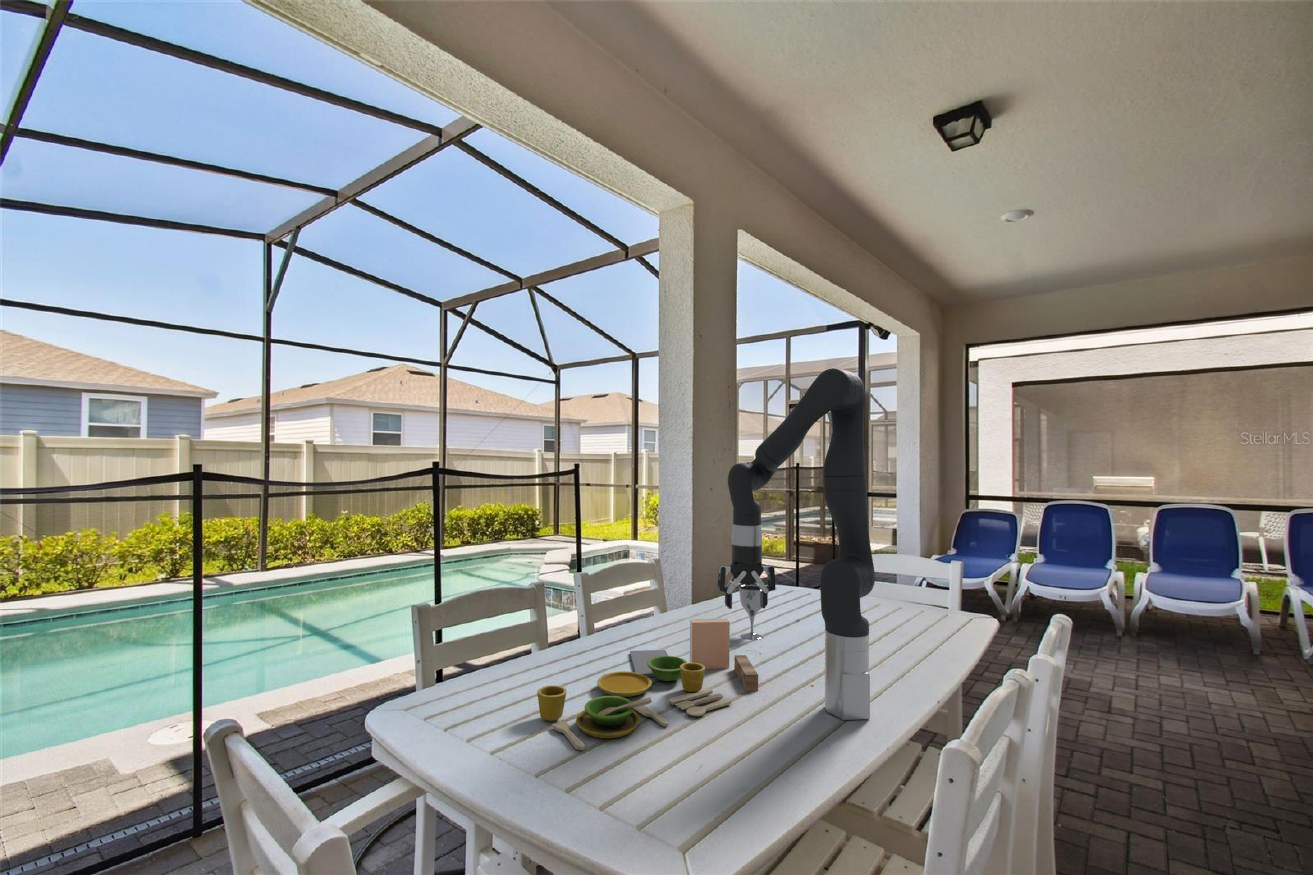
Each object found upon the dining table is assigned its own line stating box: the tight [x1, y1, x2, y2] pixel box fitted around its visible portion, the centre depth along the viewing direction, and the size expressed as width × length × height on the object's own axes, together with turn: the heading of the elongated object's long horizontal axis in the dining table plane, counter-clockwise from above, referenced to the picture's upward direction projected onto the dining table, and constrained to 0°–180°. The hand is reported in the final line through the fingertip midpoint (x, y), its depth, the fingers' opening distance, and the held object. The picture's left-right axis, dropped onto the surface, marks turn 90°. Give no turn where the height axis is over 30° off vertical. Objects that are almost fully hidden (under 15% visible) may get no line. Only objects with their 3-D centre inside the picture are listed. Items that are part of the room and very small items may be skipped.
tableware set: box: [536, 655, 732, 751], centre depth 130 cm, size 41×28×6 cm
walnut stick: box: [733, 654, 759, 692], centre depth 146 cm, size 14×3×4 cm, turn 3°
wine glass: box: [738, 584, 764, 641], centre depth 183 cm, size 8×8×15 cm
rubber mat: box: [629, 649, 669, 678], centre depth 156 cm, size 18×10×1 cm, turn 7°
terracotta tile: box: [689, 618, 731, 670], centre depth 155 cm, size 3×10×12 cm, turn 97°
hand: (746, 607), depth 147 cm, fingers open, 8 cm apart
